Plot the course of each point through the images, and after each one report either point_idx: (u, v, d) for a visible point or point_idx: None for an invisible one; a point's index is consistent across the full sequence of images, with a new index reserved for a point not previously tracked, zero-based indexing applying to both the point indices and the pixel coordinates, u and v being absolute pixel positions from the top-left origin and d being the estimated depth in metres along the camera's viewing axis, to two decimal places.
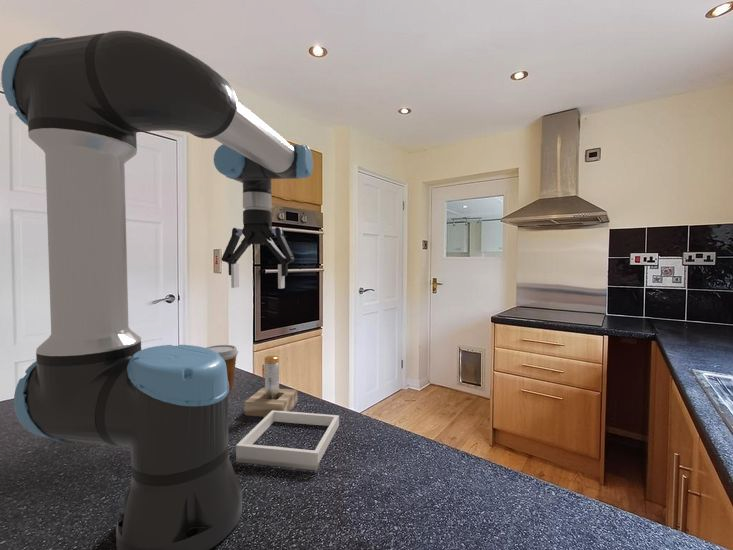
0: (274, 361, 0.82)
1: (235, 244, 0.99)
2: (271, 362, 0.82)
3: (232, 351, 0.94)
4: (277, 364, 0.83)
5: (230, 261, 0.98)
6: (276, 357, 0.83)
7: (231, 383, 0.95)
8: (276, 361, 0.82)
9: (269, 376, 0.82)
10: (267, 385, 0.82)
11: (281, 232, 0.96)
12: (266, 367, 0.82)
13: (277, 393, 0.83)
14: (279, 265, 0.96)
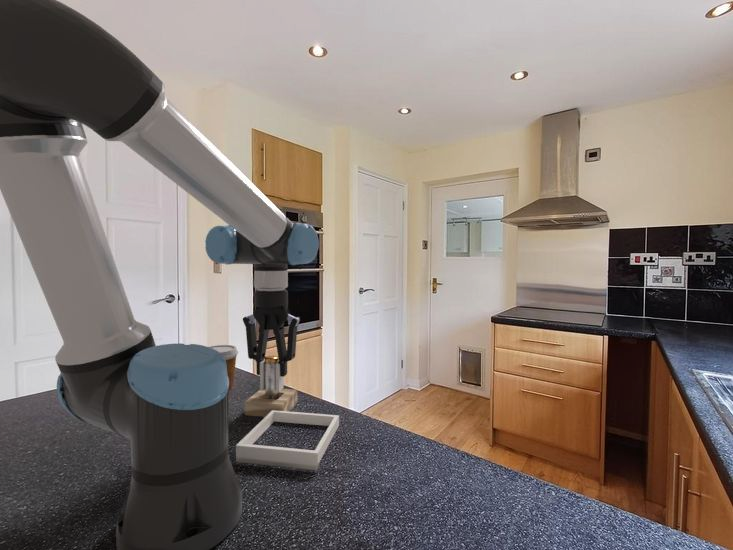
0: (274, 361, 0.82)
1: (254, 334, 0.84)
2: (271, 362, 0.82)
3: (232, 351, 0.94)
4: None
5: (258, 358, 0.82)
6: (276, 357, 0.83)
7: (231, 383, 0.95)
8: (276, 361, 0.82)
9: (269, 376, 0.82)
10: (267, 385, 0.82)
11: (296, 324, 0.82)
12: (266, 367, 0.82)
13: (277, 393, 0.83)
14: (277, 365, 0.82)
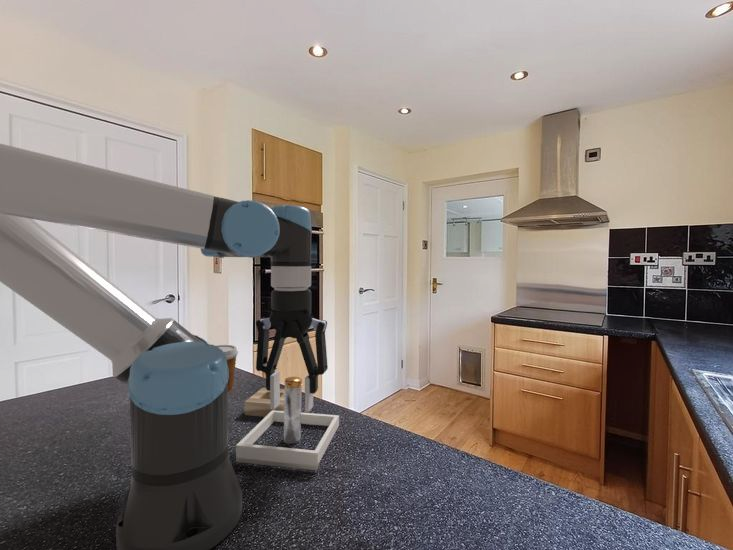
0: (297, 385, 0.67)
1: (267, 341, 0.70)
2: (293, 386, 0.67)
3: (232, 351, 0.94)
4: (300, 388, 0.68)
5: (268, 371, 0.68)
6: (299, 379, 0.68)
7: (231, 383, 0.95)
8: (299, 385, 0.67)
9: (290, 403, 0.67)
10: (287, 413, 0.67)
11: (324, 329, 0.67)
12: (287, 392, 0.67)
13: (299, 423, 0.68)
14: (306, 379, 0.67)
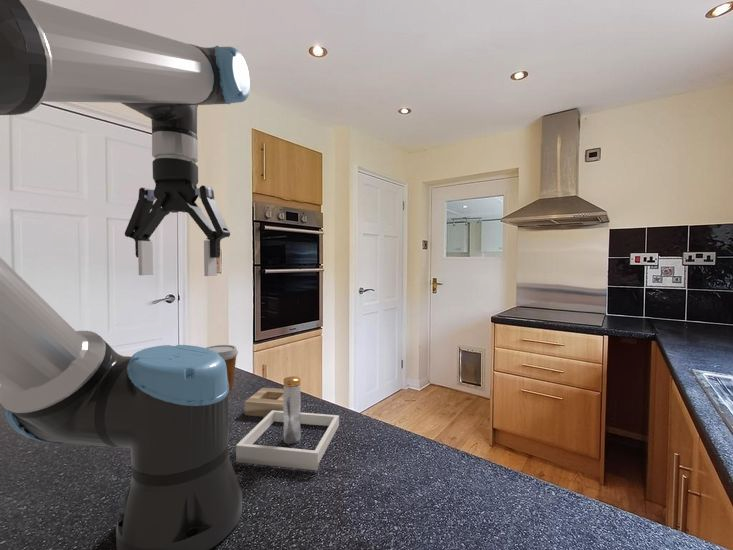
0: (295, 384, 0.68)
1: (146, 212, 0.68)
2: (292, 385, 0.67)
3: (232, 351, 0.94)
4: (299, 387, 0.68)
5: (137, 237, 0.67)
6: (297, 379, 0.69)
7: (231, 383, 0.95)
8: (297, 384, 0.68)
9: (289, 402, 0.67)
10: (286, 413, 0.68)
11: (209, 193, 0.66)
12: (285, 391, 0.68)
13: (298, 422, 0.68)
14: (206, 241, 0.65)
